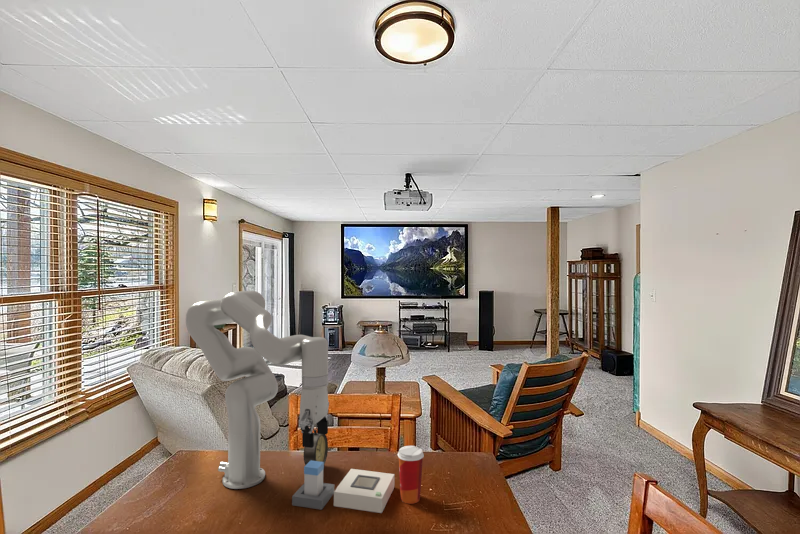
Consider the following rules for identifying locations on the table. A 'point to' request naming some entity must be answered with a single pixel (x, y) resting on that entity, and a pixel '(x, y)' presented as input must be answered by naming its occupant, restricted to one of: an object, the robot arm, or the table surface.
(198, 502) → the table surface
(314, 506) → the grey square frame
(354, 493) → the port panel
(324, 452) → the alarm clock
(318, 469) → the plug
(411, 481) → the paper cup
